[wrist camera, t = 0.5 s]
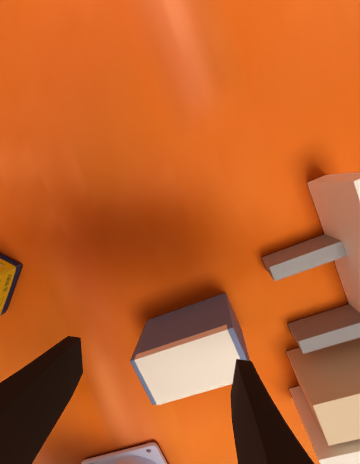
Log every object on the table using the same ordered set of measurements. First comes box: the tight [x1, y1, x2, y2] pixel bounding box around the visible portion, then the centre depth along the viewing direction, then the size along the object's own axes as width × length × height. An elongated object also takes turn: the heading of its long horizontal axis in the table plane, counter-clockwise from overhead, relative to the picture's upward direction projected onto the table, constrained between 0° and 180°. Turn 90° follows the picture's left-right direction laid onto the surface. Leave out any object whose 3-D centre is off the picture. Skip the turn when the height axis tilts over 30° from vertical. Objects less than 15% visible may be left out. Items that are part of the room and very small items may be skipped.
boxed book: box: [130, 293, 250, 405], centre depth 20 cm, size 8×4×6 cm, turn 114°
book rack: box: [261, 172, 360, 464], centre depth 18 cm, size 9×19×6 cm, turn 24°
